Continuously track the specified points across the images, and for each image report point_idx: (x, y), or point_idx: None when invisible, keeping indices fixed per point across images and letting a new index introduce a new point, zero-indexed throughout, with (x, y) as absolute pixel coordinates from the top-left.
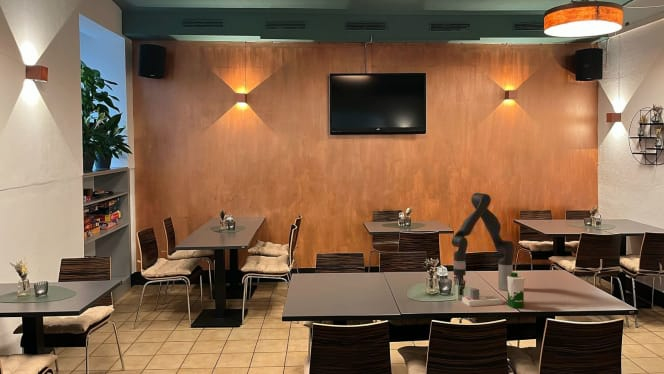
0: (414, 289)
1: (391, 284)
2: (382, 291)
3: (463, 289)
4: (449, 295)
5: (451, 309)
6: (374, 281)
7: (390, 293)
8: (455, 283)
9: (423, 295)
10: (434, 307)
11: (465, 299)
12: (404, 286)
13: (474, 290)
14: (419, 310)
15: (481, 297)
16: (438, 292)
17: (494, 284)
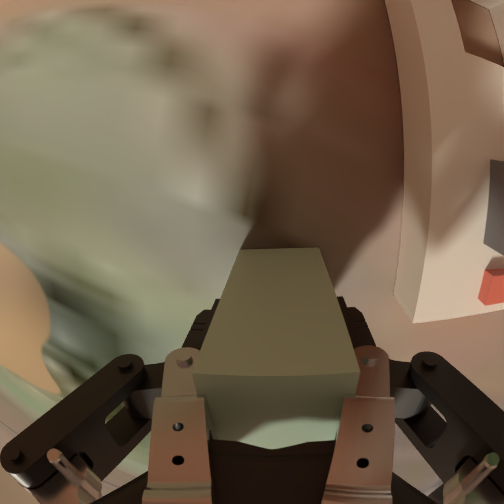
0: (38, 414)
1: (10, 425)
2: (106, 489)
3: (341, 324)
4: (122, 322)
5: (493, 395)
6: (4, 435)
7: None
8: (144, 434)
9: (143, 447)
10: (417, 457)
11: (486, 310)
12: (13, 413)
13: None
14: (417, 485)
15: (487, 92)
16: (53, 353)
17: None
